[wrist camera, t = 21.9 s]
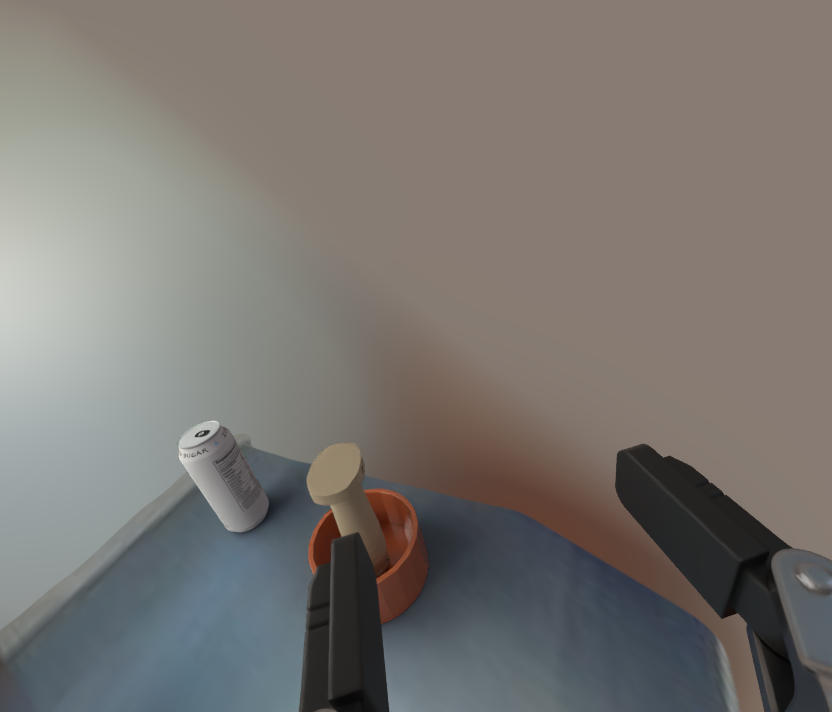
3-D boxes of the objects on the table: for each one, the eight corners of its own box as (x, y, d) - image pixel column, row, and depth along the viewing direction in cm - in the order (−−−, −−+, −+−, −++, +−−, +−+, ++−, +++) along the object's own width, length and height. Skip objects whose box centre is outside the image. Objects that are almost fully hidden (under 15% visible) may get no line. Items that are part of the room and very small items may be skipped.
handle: (399, 537, 43) (364, 439, 36) (397, 595, 37) (355, 491, 30) (359, 543, 43) (317, 447, 36) (350, 601, 37) (299, 500, 31)
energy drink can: (242, 499, 54) (193, 419, 47) (279, 498, 53) (234, 415, 46) (218, 536, 49) (159, 452, 42) (258, 535, 48) (204, 449, 41)
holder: (398, 506, 47) (386, 473, 44) (449, 576, 38) (439, 539, 35) (314, 560, 43) (296, 527, 40) (349, 654, 34) (329, 618, 31)
